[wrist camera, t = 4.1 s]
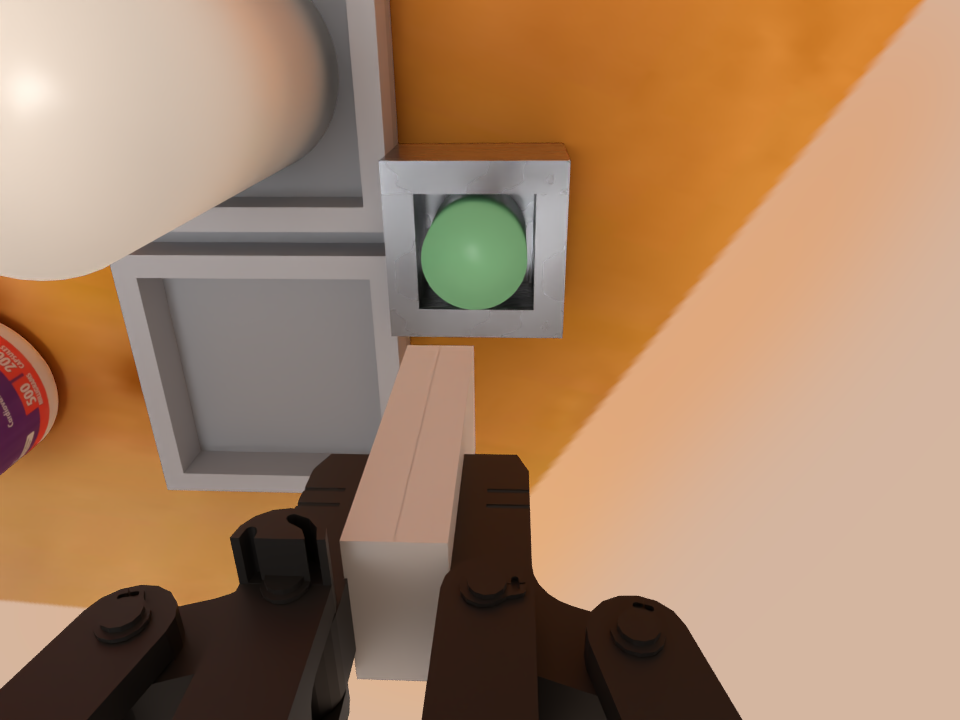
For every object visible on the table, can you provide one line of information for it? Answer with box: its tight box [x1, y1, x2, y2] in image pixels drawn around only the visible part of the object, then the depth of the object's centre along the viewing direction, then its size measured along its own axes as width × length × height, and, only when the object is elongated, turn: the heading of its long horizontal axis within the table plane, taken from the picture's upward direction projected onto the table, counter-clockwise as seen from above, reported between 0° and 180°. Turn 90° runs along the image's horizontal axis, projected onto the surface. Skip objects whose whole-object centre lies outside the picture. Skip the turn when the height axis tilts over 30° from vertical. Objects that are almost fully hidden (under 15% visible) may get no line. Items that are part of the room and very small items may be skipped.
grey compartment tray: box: [110, 0, 410, 493], centre depth 29 cm, size 12×26×3 cm, turn 1°
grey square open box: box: [379, 143, 571, 338], centre depth 28 cm, size 7×7×4 cm
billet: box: [0, 0, 339, 281], centre depth 20 cm, size 8×8×14 cm
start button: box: [421, 194, 527, 310], centre depth 27 cm, size 4×4×4 cm
